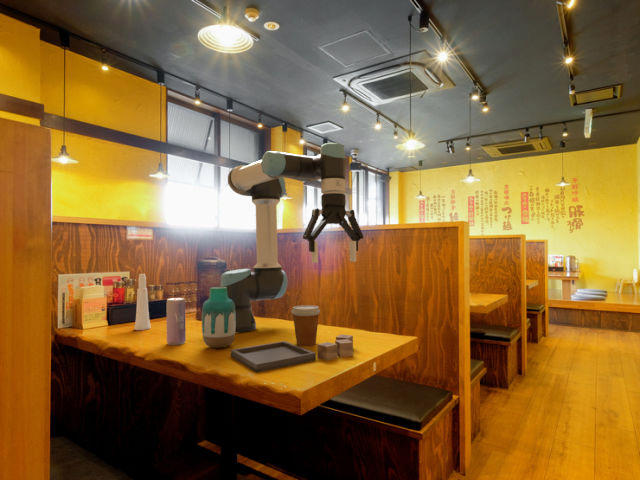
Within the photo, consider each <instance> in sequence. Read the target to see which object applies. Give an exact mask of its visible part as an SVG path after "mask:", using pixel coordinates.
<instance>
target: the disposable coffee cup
mask: <svg viewBox="0 0 640 480" xmlns="http://www.w3.org/2000/svg"><path fill="white" fill-rule="evenodd" d="M320 312H321V310H320V308H319V306H317V305H313V304H311V305H303V304H302V305H296V306H293V307H292V310H291V313H292V319H293V325H294V332H295V333H294V334H295V339H296V345H297V346H300V347H301V346H302V347H307V346H314V345H316V343H317V335H318V326H319V325H318V324H319V318H320V317H319V315H320Z"/></svg>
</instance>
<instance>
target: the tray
mask: <svg viewBox="0 0 640 480" xmlns="http://www.w3.org/2000/svg"><path fill="white" fill-rule="evenodd" d="M316 353H317V352H315V351H314V352H313V351H312V350H309V349H306V348H303V347H301V346H300V345H297V344H296V345H295V344H293V343H292V342H289V341H286V340H283V341H276V342H270V343H264V344H258V345H257V344H256V345H253V346H245V347H239V348H235V349H233V348H232V349H231V350H230V357H231V358H232V359H234V360H235V361H237V362H239V363H240V364H243V366H246V367H247V368H249V369H250V370H252V371H254V372H255V373H261V372H265V371H271V370H276V369H280V368H284V367H289V366H294V365H295V366H296V365H300V364H304V363H309V362H310V363H311V362H315V361H316V359H317V357H316V356H317V355H316Z"/></svg>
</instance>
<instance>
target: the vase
mask: <svg viewBox="0 0 640 480" xmlns="http://www.w3.org/2000/svg"><path fill="white" fill-rule="evenodd" d="M201 309H202V310H201V311H202V312H201V332H202V333H201V334H202V340H203V342H204V345H206V346H207V347H209V348H214V349H220V348H225V347H228V346H230V345H231V344H232V343H233V341H235V337H236V333H235V329H236V313H235V305H234V302H233V301H232V300H231V299H229V298H228V293H227V287H221V286H216V287H215V286H214V287H210V288H209V297H208V299H207V300H205V301H204V302H203V303H202V308H201Z"/></svg>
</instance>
